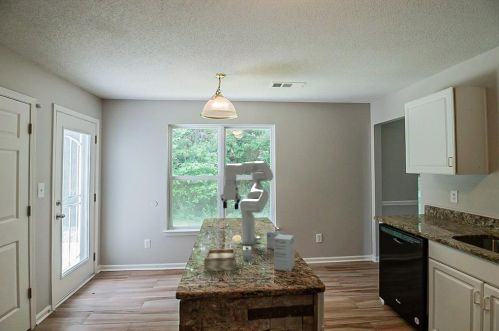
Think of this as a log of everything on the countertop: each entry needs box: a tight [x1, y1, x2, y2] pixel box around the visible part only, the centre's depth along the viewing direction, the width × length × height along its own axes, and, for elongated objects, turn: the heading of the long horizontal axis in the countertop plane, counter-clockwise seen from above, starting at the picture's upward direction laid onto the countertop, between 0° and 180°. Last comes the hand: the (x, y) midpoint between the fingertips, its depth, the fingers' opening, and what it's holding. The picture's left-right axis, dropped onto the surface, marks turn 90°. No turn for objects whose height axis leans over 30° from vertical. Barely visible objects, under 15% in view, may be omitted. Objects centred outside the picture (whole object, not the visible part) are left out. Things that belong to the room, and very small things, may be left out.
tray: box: [204, 248, 236, 272], centre depth 154 cm, size 16×16×6 cm
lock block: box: [242, 245, 252, 261], centre depth 167 cm, size 5×7×7 cm
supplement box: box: [273, 234, 296, 272], centre depth 150 cm, size 10×9×17 cm
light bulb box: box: [266, 230, 285, 250], centre depth 186 cm, size 11×7×11 cm, turn 65°
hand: (230, 208), depth 181 cm, fingers open, 9 cm apart
